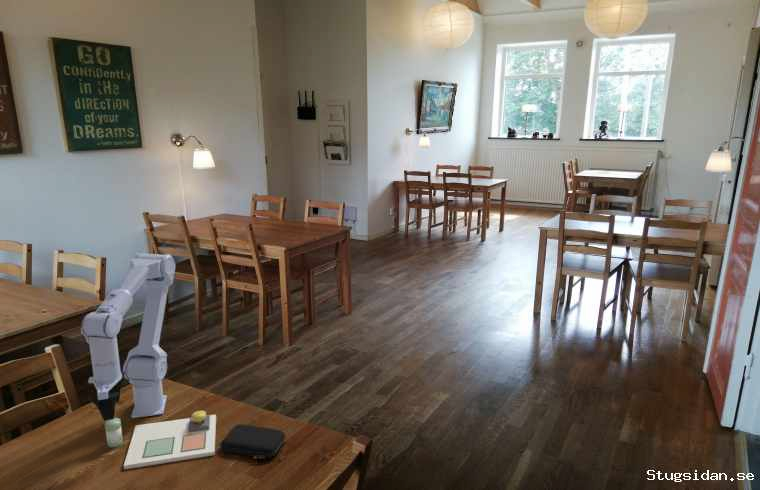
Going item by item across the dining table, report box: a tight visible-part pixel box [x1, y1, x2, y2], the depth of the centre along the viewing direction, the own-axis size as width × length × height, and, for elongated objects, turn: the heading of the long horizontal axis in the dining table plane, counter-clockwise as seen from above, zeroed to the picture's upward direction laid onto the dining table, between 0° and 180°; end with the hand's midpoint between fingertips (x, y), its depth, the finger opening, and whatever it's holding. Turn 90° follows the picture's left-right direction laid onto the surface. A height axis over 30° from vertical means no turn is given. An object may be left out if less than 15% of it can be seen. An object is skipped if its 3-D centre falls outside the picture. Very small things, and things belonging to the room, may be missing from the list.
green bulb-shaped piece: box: [104, 417, 124, 448], centre depth 123 cm, size 4×4×6 cm
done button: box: [191, 410, 207, 423], centre depth 130 cm, size 4×4×2 cm
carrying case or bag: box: [219, 423, 287, 460], centre depth 124 cm, size 11×3×15 cm
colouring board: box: [123, 414, 217, 470], centre depth 125 cm, size 16×20×2 cm
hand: (111, 410), depth 121 cm, fingers open, 7 cm apart
